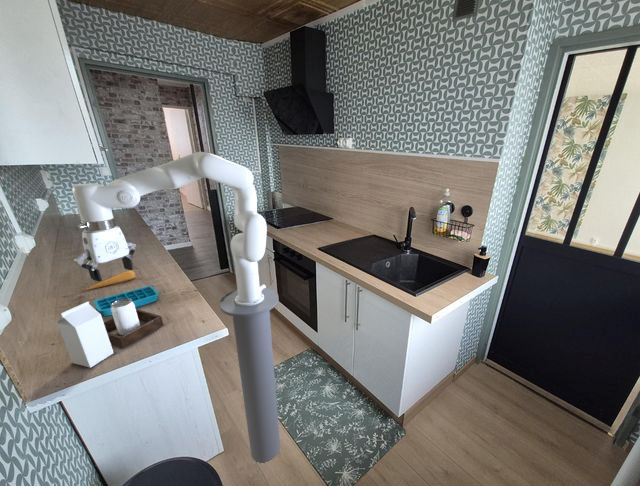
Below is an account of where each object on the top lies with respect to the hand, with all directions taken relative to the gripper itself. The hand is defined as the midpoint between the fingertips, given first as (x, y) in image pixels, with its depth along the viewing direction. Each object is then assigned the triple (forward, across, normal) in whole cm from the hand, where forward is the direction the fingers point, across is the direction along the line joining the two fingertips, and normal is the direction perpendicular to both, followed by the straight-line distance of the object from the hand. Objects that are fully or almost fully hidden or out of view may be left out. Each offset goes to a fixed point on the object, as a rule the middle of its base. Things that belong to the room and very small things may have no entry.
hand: (113, 274), depth 97 cm
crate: (+24, +1, +2) cm, 24 cm away
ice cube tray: (+24, +14, +20) cm, 34 cm away
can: (+24, +1, +2) cm, 24 cm away
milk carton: (+24, -13, -2) cm, 27 cm away
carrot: (+24, +23, +45) cm, 56 cm away
